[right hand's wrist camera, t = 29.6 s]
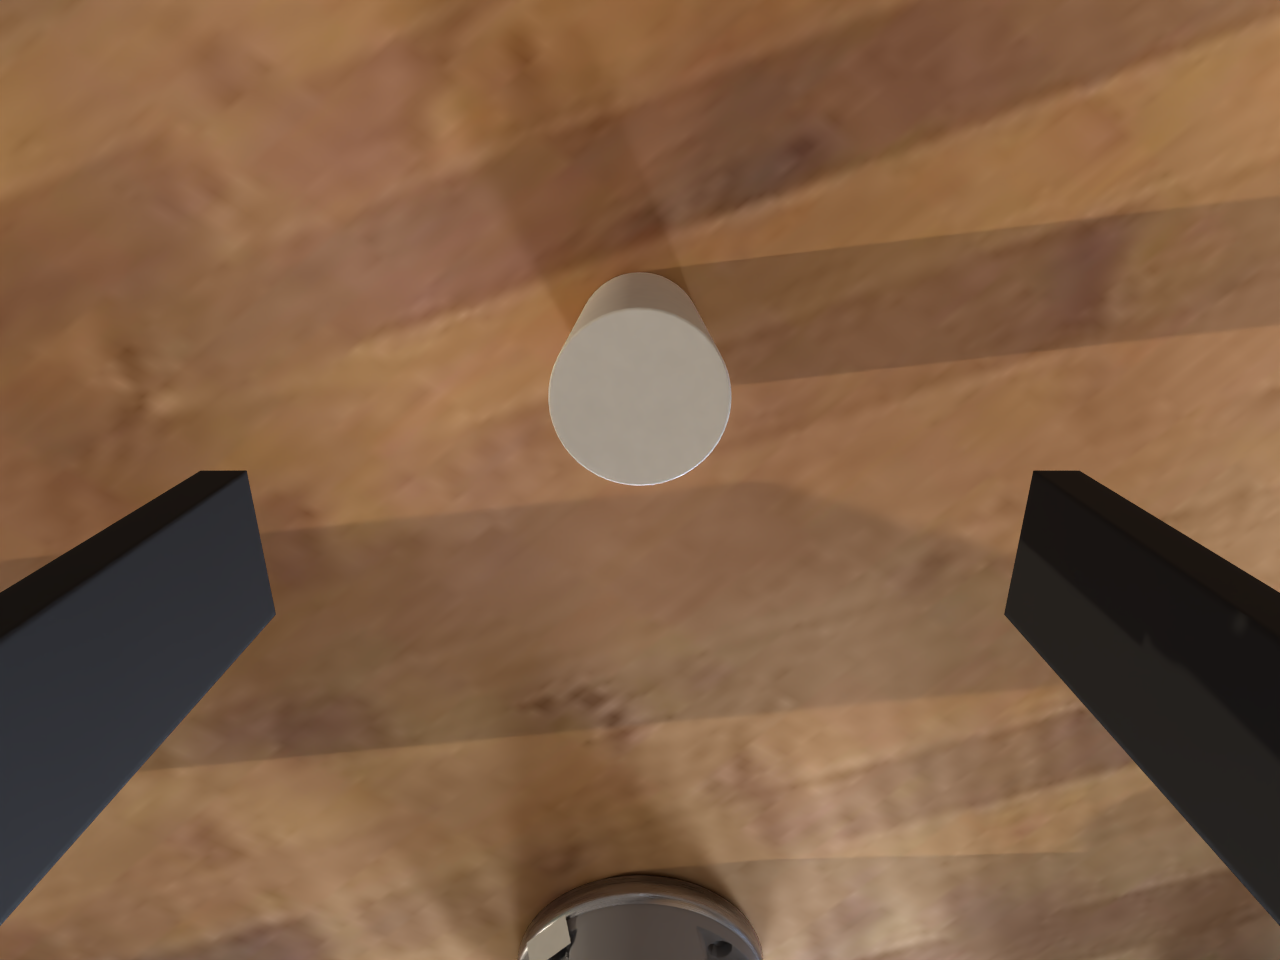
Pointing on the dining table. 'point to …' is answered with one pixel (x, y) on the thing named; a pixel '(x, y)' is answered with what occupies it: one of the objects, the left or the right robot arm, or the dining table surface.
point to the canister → (639, 383)
